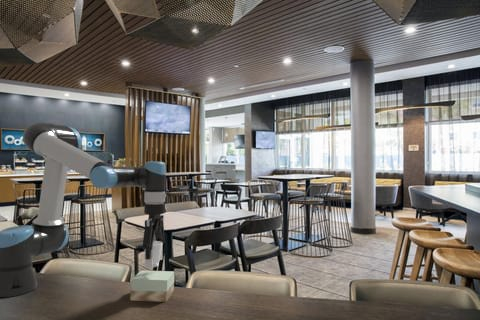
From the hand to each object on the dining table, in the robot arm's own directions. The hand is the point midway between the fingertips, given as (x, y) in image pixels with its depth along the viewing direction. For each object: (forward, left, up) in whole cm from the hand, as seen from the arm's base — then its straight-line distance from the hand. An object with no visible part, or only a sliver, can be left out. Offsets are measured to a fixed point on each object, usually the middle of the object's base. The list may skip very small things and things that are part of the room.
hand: (153, 263), depth 120 cm
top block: (0, 0, -8) cm, 8 cm away
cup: (0, 0, 0) cm, 0 cm away
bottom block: (0, 0, -12) cm, 12 cm away
